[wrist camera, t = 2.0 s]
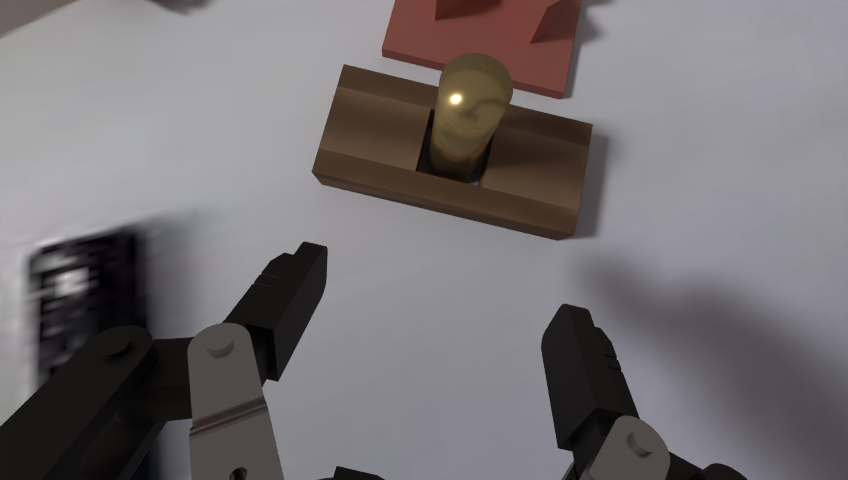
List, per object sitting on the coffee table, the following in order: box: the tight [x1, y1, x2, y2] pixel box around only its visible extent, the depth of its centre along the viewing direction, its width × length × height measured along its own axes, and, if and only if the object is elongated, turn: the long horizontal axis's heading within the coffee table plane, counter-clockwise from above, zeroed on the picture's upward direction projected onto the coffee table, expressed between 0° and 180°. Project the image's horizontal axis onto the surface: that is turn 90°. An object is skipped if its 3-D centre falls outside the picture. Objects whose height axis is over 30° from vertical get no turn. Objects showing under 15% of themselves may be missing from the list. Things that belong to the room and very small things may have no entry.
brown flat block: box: [312, 64, 593, 241], centre depth 28 cm, size 9×20×3 cm, turn 77°
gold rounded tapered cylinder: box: [428, 53, 513, 182], centre depth 25 cm, size 4×4×11 cm
